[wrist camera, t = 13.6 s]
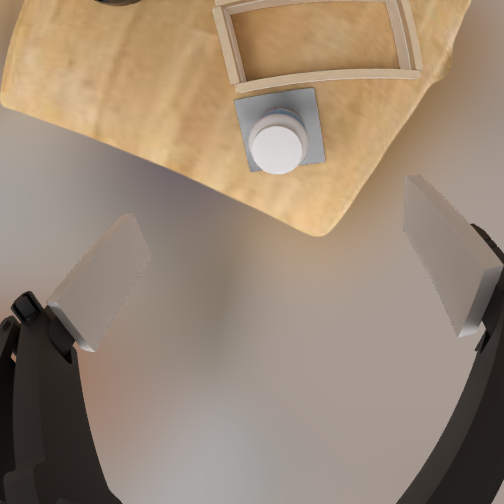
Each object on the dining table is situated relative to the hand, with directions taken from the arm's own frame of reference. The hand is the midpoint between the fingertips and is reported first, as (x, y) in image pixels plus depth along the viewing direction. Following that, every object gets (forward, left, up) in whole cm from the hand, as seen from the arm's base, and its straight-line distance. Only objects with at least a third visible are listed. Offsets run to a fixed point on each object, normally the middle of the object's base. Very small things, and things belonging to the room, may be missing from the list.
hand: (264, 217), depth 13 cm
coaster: (0, 0, -25) cm, 25 cm away
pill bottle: (0, 0, -25) cm, 25 cm away
